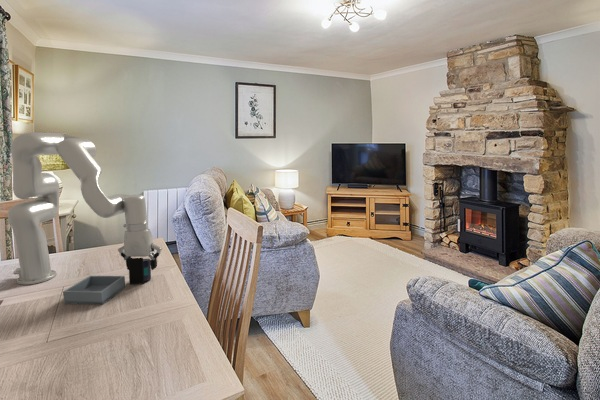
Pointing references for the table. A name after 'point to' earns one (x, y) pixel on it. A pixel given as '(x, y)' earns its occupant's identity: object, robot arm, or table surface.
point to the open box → (94, 290)
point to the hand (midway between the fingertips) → (142, 268)
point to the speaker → (139, 270)
